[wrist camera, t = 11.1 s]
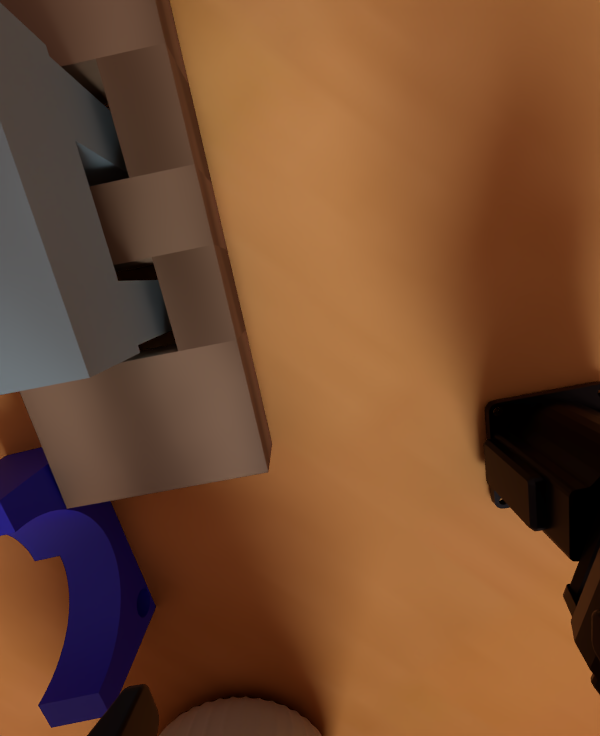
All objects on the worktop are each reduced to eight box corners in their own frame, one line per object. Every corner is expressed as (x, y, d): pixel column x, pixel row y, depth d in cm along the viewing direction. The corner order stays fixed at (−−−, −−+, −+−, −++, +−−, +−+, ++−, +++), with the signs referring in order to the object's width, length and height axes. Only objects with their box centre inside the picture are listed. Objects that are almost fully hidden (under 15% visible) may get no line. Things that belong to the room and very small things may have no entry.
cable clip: (8, 454, 20) (-106, 525, 15) (84, 435, 20) (-1, 500, 14) (90, 619, 23) (22, 733, 17) (156, 604, 23) (110, 715, 17)
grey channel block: (120, 114, 16) (-61, -54, 8) (180, 332, 19) (89, 377, 10) (47, 130, 16) (-206, -20, 8) (116, 345, 19) (-24, 399, 10)
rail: (145, -102, 14) (107, -199, 11) (272, 443, 20) (268, 472, 17) (-94, -45, 15) (-190, -125, 12) (99, 475, 21) (66, 508, 18)
